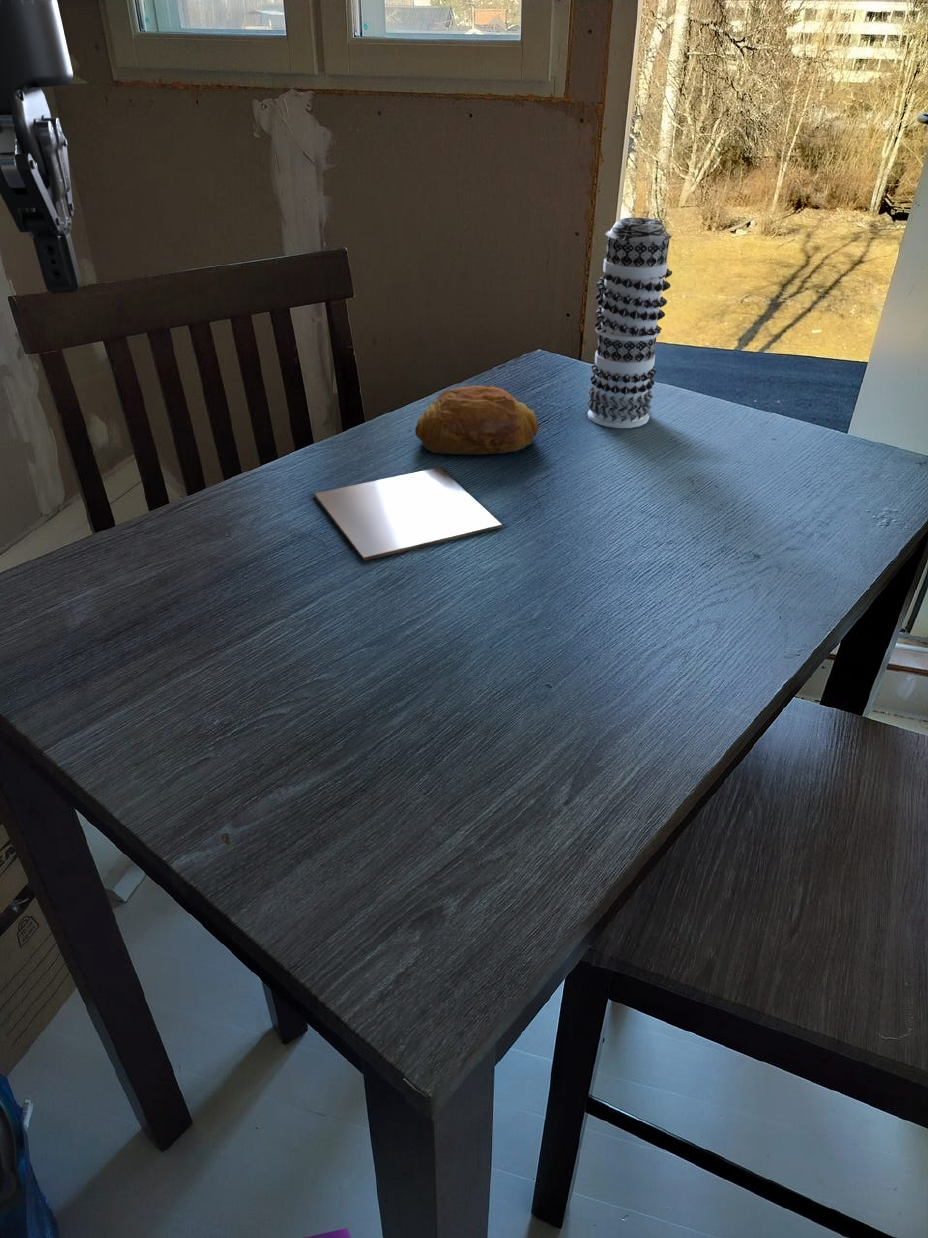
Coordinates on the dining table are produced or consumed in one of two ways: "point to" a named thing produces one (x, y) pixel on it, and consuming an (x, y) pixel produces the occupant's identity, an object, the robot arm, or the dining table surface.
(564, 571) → the dining table surface
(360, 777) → the dining table surface
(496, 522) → the square metal plate
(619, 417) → the decorative candle
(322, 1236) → the toy camera
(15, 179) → the robot arm
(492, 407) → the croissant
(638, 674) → the dining table surface
